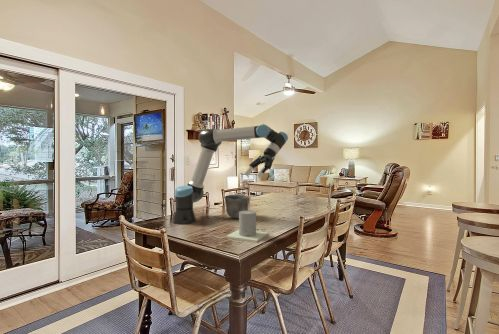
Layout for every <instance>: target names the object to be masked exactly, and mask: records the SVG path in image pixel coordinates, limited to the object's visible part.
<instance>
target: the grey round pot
mask: <svg viewBox="0 0 499 334" xmlns="http://www.w3.org/2000/svg"><path fill="white" fill-rule="evenodd" d="M249 198H250V197H249V195H248V196H247V195H243V194H229V195H225V196H224V201H225V208H226V209H225V210H226V213H227V215H228V216H229V217H230V218H232V219H238V220H239V212H240V211H244V210H249Z"/></svg>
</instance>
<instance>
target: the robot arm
mask: <svg viewBox="0 0 499 334" xmlns="http://www.w3.org/2000/svg"><path fill="white" fill-rule="evenodd" d="M261 138H264V139H265V140H267V141H269V142H270V144H269V145H267V147H266V148H265V149H264V151H263V155H259V156H258V157H257V158H256V159H254V160H253V161H252V162H250V163H249V168H248V169H247V171H246V172H244V175H245V176H246V177H247V178H248V177H249V176H250V174H251V173H252V172H253V170H254V169H255V168H256V167H258V166H259V165H261V164H264V165H263V166H262V168H261V169H260V171H259V172H258V173H257V175H256V176H257V177H258V178H259V179H261V178H262V177H263V175H265V173H266V171H268V170H271V168H272V165H273V162H274V160H275V157H276V156H277V154H278V153H279V152H280V150H281V149H282V148H283V147H284V145H285V144H286V142H287V141H288V139H289V136H288V134H287V133H285V132H284V131H279V132H277V131H275V130H274V129H273V128H271V127H270V126H268V125H267V124H264V123H262V124H259V125H251V126H245V127H244V126H242V127H234V128H224V129H223V128H222V129H217V128H205V129H202V130H201V131H200V132H199V133H198V141H199V143H200V149H201V150H200V153H199V156H198V160H197V162H196V165H195V168H194V170H193V171H194V172H193V174H192V177H191V180H189V181H188V182H187V185H180V186H178V187H176V188H175V189H174V201H175V202H174V204H175V209H174V210H175V211H174V213H173V217H172V223H173V224H177V225H188V224H192V223H195V222H197V217H196V215H195V211H194V203H196V202H199V201H200V200H201V199H203V196H204V188H205V186H204V182H205V179H206V175H207V173H208V169H209V167H210V165H211V161H212V158H213V156H214V153H216V152H217V151H218V148H219V146H221V144H222V142H231V141H239V140H240V141H241V140H250V139H261Z"/></svg>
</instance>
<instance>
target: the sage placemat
mask: <svg viewBox="0 0 499 334" xmlns="http://www.w3.org/2000/svg"><path fill="white" fill-rule="evenodd" d="M268 235H269V232H267V231H260V230H259V231H258V230H256V235H255V236H251V237H244V236H240V235H239V229H236V230H235V231H233V232H231V233H229V234H227V235H226V236H225V238H226V239H230V240H231V239H232V240H237V241H245V242H252V243H258V242H259V241H261V240H262V239H264V238H265V237H266V236H268Z"/></svg>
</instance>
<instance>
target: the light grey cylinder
mask: <svg viewBox="0 0 499 334" xmlns="http://www.w3.org/2000/svg"><path fill="white" fill-rule="evenodd" d="M238 230H239V235H240V236H244V237H251V236H255V235H256V231H257V211H255V210H252V209H251V210H249V209H248V210H244V211H240V212H239V218H238Z"/></svg>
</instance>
